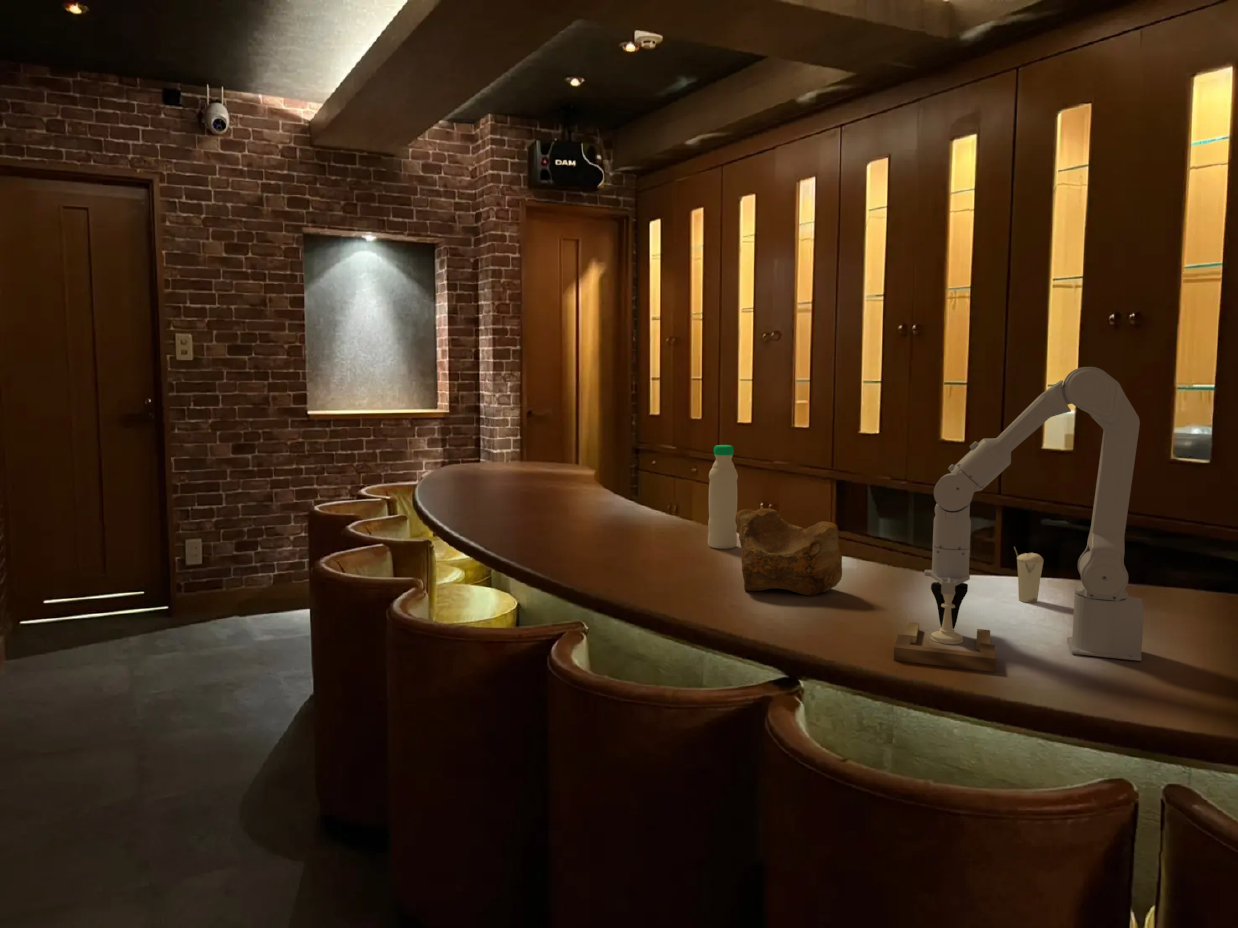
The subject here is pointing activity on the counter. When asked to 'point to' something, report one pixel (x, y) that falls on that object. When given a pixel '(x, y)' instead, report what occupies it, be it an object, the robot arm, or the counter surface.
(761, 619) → the counter surface
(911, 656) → the stop rail
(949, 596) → the chess piece
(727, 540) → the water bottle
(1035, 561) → the milkshake
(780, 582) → the rough brown rock
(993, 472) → the robot arm
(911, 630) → the pocket channel
